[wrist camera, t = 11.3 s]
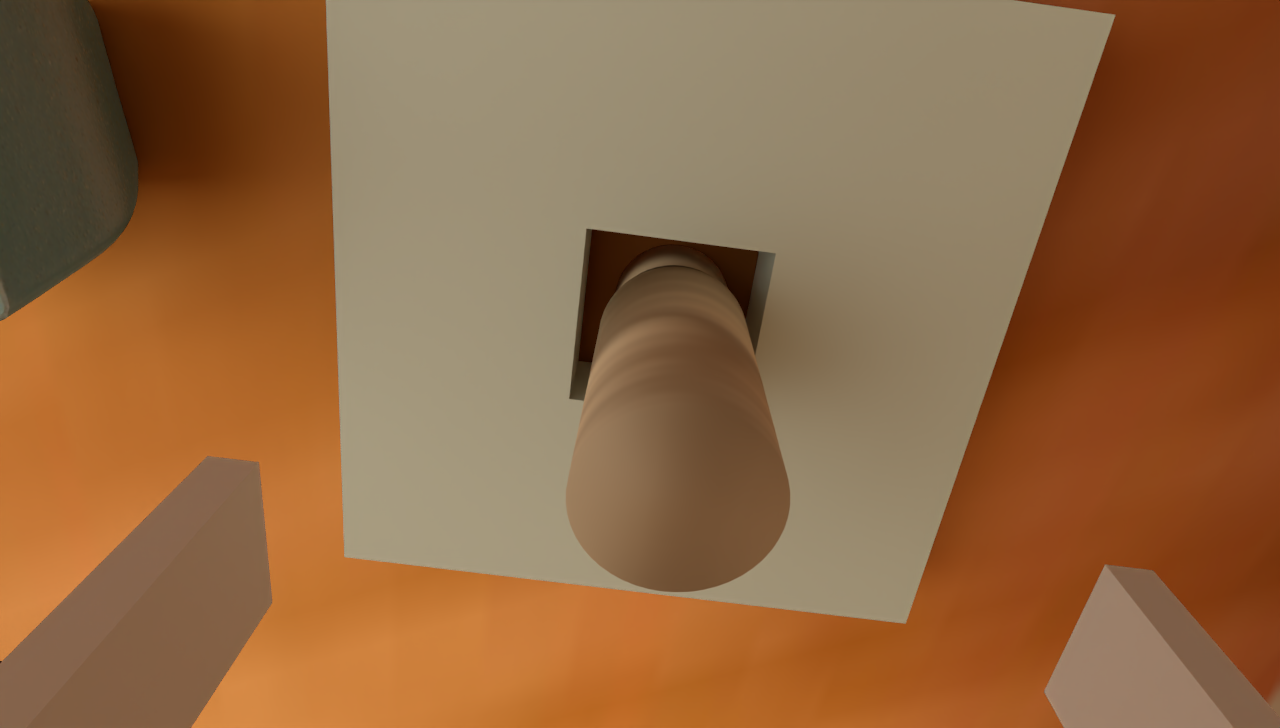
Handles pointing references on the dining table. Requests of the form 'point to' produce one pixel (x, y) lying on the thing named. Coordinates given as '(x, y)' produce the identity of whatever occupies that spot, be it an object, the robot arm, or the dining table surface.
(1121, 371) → the dining table surface
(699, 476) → the peg
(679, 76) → the board
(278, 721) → the dining table surface
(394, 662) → the dining table surface
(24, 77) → the flower pot
